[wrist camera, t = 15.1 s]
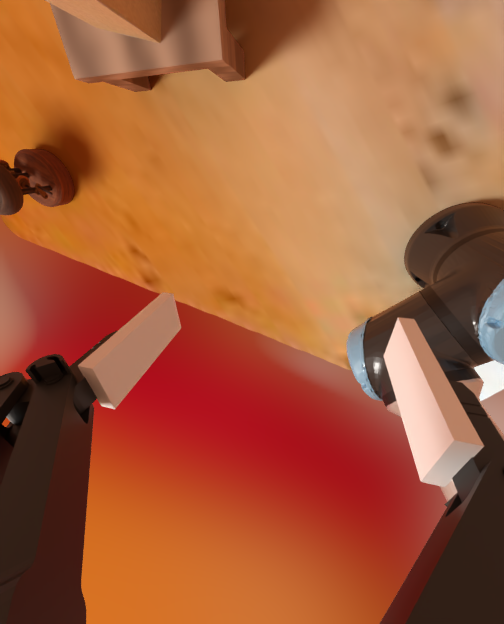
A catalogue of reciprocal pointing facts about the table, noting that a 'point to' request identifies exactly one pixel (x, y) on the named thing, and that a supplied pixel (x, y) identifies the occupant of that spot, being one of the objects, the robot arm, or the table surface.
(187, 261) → the table surface
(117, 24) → the sandwich container
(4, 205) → the small figurine
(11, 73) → the table surface
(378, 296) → the table surface
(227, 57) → the stool
